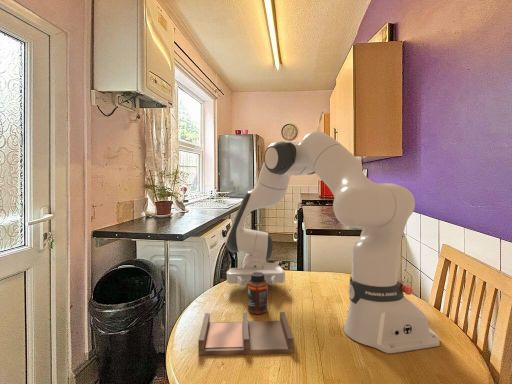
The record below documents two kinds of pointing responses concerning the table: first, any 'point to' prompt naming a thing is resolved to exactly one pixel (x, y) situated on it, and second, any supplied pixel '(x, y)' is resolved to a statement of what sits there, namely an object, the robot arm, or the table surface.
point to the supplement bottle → (257, 293)
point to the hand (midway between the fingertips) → (256, 283)
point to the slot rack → (245, 337)
